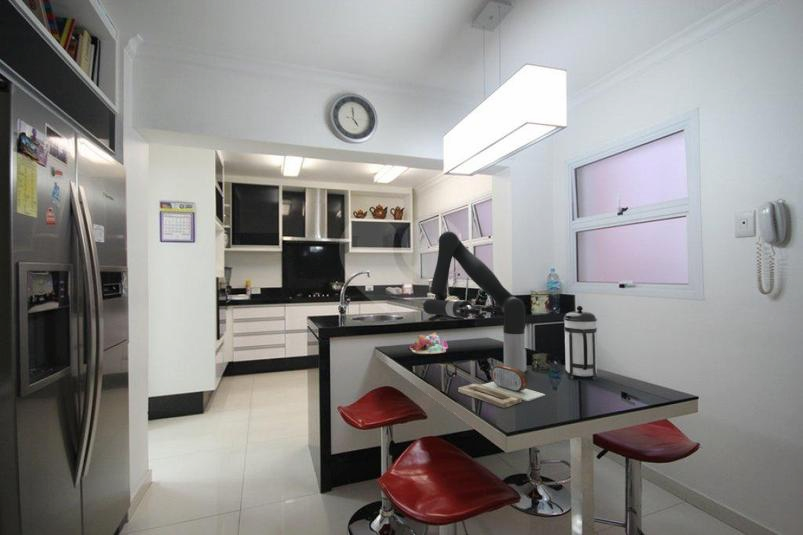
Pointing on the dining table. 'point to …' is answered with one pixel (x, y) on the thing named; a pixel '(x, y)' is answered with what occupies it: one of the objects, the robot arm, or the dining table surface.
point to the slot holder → (504, 403)
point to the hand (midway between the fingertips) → (486, 310)
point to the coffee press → (580, 344)
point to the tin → (509, 378)
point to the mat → (524, 394)
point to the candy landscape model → (429, 345)
